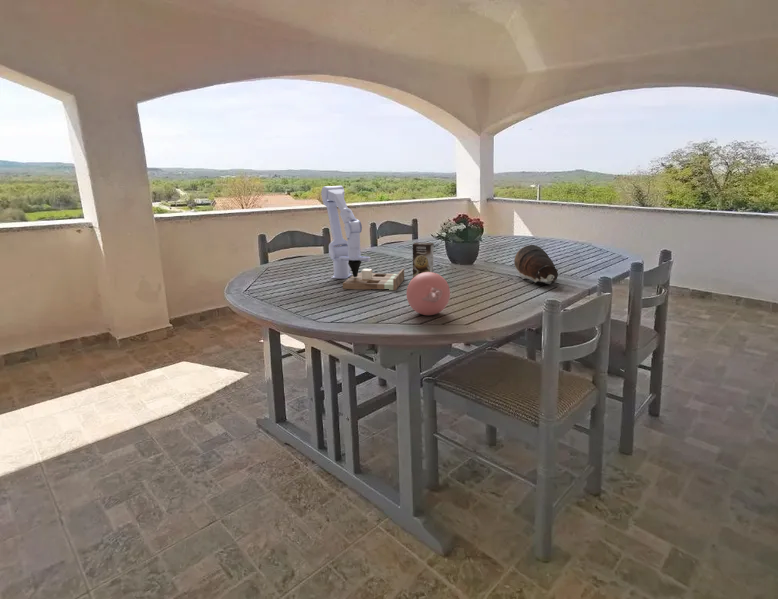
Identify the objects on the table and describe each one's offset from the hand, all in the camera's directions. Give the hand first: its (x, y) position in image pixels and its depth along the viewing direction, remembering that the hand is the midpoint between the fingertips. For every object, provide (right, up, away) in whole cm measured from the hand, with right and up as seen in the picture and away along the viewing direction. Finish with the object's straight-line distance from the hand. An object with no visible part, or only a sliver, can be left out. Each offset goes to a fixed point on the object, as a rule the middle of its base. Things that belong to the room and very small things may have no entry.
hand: (355, 276), depth 211 cm
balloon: (+30, -17, -50) cm, 60 cm away
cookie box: (+32, +1, +12) cm, 34 cm away
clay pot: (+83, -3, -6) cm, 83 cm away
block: (+5, -1, -1) cm, 6 cm away
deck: (+9, -3, -1) cm, 10 cm away
